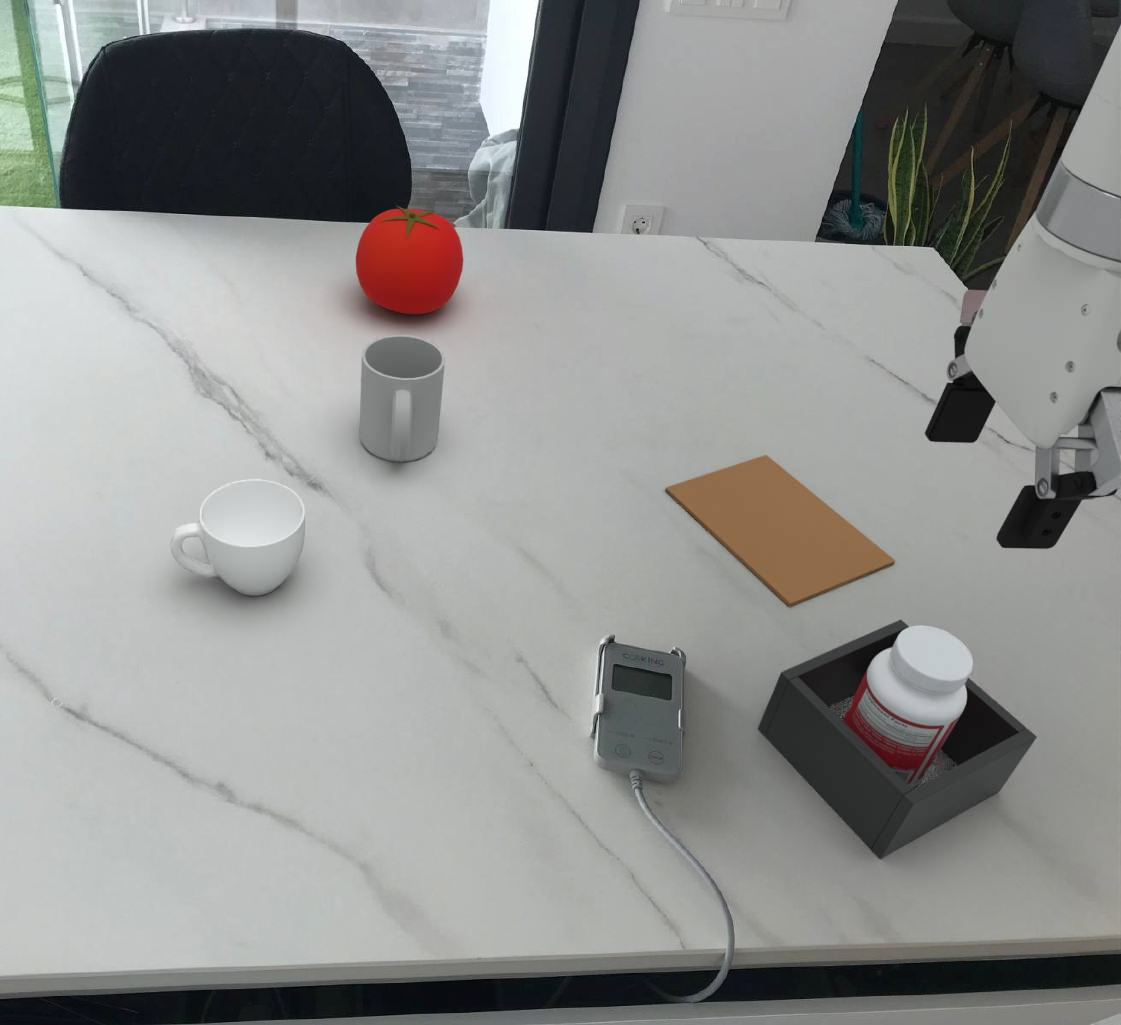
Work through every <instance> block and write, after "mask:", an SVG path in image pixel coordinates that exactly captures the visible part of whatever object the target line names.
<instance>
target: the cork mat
mask: <svg viewBox="0 0 1121 1025" xmlns="http://www.w3.org/2000/svg"><path fill="white" fill-rule="evenodd" d="M664 492H666V493H667V494H668V495H669V496H670V497H671V498H672V499H673V500H674V501H675V502H677V504H679V506H681V507H682V508H683V510H685V511H686V512H687V513H688V514H689V515H690V516H691V517H693V518H694V519H695V520H696V521H697V522H698V523H699V524H700V525H701V526H702V527H703V528H704V529H705V530H706V531H708V532H709V534H711V535H712V537H714V538H715V539H716V540H717V541H718V542H719V543H720V544H721V545H723V547H725V548H726V549H727V550H728V551H729V552H730V553H731V554H732V555H733V556H734V557H735V558H736V559H737V560H739V561H740V562H741V563H742V564H743V565H744V567H746V568H747V570H749V571H750V572H752V573H753V574H754V575H755V577H757V578H758V579H759V580H760V582H762V583H763V584H764V585H765V586H766V587H768V588H769V589H770V590H771V592H772V593H773V594H775V595H776V596H777V597H778V598H779V599H780V600H782V601H783V603H785V604H786V605H787V606H788V607H793V606H795V605H797V604H799V603H802V602H804V601H807V600H810V599H811V598H814V597H816V596H817V597H818V596H819V595H821V594H824V593H827V592H829V591H831V590H835V589H837V588H838V587H841V586H843V585H846V584H848V583H851V582H853V581H856V580H858V579H860V578H863V577H866V576H869V575H871V574H873V573H875V572H878V571H880V570H882V569H885V568H888V567H890V566H893V565H894V564H895V563H896V560H895V559H894V558H893V557H892V556H890V555H889V554H888V553H887V552H885V550H883V549H882V548H880V547H879V545H877V544H876V543H875V542H873V541H872V540H871V539H870V538H869V537H867V535H865V534H864V533H863V532H861V531H860V530H859V529H857V528H856V527H855V526H854V525H853V524H851V523H850V522H849V521H848V520H846V519H845V518H844V517H843V516H841V515H840V514H839V513H838V512H837V511H835V509H833V508H832V507H831V506H829V505H828V504H827V503H826V502H824V501H823V500H822V499H821V498H820V497H819V496H817V495H816V494H815V493H813V491H811V489H809V488H807V487H806V486H805V485H804V484H803V483H801V482H800V481H799V480H798V479H796V478H795V477H794V476H793V475H792V474H791V473H789V472H788V471H787V470H786V469H784V468H783V467H782V466H781V465H779V464H778V463H777V462H776V461H775V460H774V459H772V458H771V457H770V456H768V455H767V454H765V455H761V456H758V457H755V458H751V459H749V460H746V461H743V462H740V463H737V464H734V465H731V466H727V467H724V468H721V469H718V470H715V471H712V472H709V473H706V474H702V475H700V476H697V477H696V476H695V477H694V478H691V479H687V480H684V481H681V482H678V483H675V484H673V485H669V486H666V487H665V489H664Z"/></svg>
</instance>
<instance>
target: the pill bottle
mask: <svg viewBox="0 0 1121 1025" xmlns="http://www.w3.org/2000/svg"><path fill="white" fill-rule="evenodd" d="M973 668H974V660H973V656H972V654H971V652H970V650H969V648H968V647H967V646H966V645H965V644H964V643H963V642H962V641H961V640H960V639H959V638H958V637H957V636H954V635H953V634H951V633H950V632H948V631H946V630H943V629H942V628H938V627H936V626H931V625H921V624H920V625H912V626H909V628H906V629H904V630H903V631H902V632H901V633H900V634H899V635H898V637H897V639H896V641H895V643H894V645H893V647H892V648H888V649H886V650H884V651H882V652H880V653H879V654H878V655H877V656H875V658H874V659H873V660H872V662H871V663H870V665H869V667H868V669H867V671H866V673H865V675H864V677H863V679H862V681H861V683H860V685H859V687H858V689H857V692H856V693H855V694H854V695H853V698H852V700H851V702H850V704H849V706H848V707H847V710H846V712H845V714H844V716H843V718H842V719H841V720H842V721H843V722H844V723H845V724H847V725H848V726H849V727H850V728H851V729H852V730H853V731H854V732H855V733H856V734H857V735H858V736H859V737H860V738H861V739H862V740H863V741H864V742H865V743H866V744H867V745H868V746H869V747H870V748H871V749H872V750H873V751H874V752H875V753H876V754H877V755H878V756H879V757H880V758H881V759H882V760H883V761H884V762H885V763H886V764H887V765H888V766H889V767H890V768H891V769H892V770H893V771H894V772H895V773H896V774H897V775H898V776H899V777H900V778H901V779H902V780H903V781H904V782H905V783H906V784H907V785H908V786H909V787H910V788H911V789H912V790H913V789H915V788H916V787H918V785H919V784H920V783H921V782H922V780H923V779H924V778H925V776H926V775H927V772H928V771H929V769H930V768H931V766H932V764H933V763H934V761H935V759H936V758H937V756H938V755H939V752H940V751H941V750H942V749H941V747H942V746H943V744H944V742H945V741H946V739H947V737H948V736H949V734H950V732H951V731H952V729H953V727H954V726H955V724H956V722H957V721H958V719H959V717H960V716H961V714H962V712H963V710H964V708H965V705H966V701H967V691H966V687H965V683H966V681H967V679H968V678H970V677H969V676H970V675H971V673H972V671H973Z"/></svg>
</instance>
